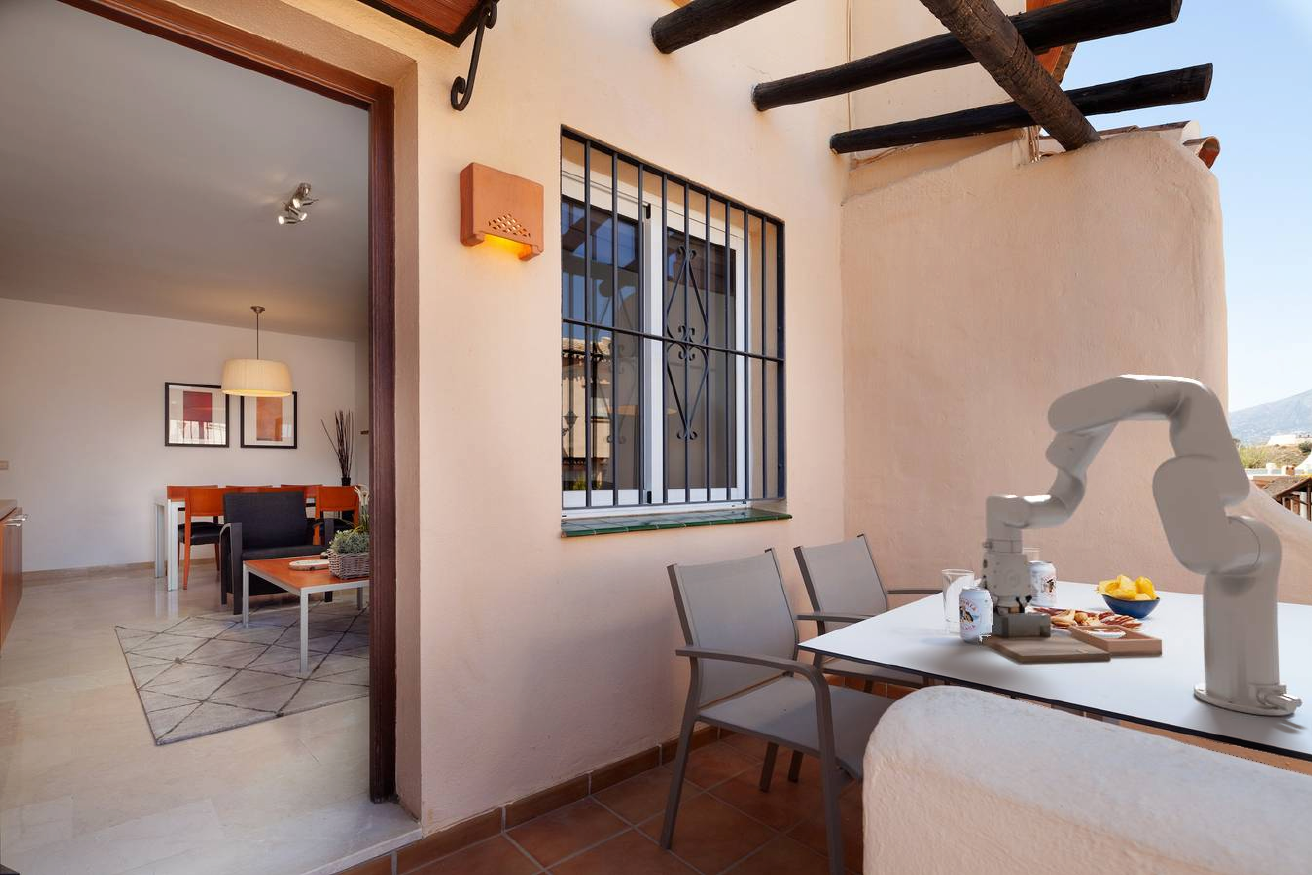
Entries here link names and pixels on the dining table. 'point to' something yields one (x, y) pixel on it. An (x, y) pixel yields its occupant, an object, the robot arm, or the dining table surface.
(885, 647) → the dining table surface
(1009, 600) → the pill bottle
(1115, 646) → the tray
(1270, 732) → the dining table surface
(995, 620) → the grey block
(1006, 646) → the cutting board
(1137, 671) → the dining table surface
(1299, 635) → the dining table surface
